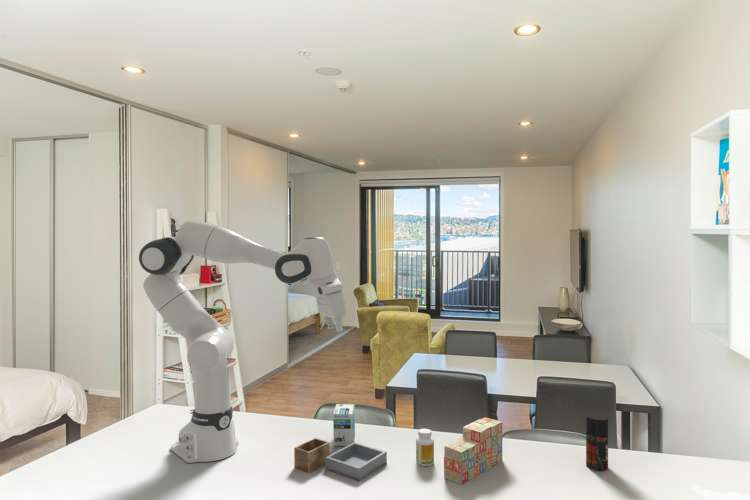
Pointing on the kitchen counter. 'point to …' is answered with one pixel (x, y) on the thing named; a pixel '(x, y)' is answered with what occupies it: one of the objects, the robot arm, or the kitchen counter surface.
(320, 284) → the robot arm
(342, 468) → the grey square tray
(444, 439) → the kitchen counter surface
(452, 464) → the stack of blocks
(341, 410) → the light bulb box
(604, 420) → the deodorant
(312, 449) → the small crate
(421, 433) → the supplement bottle
